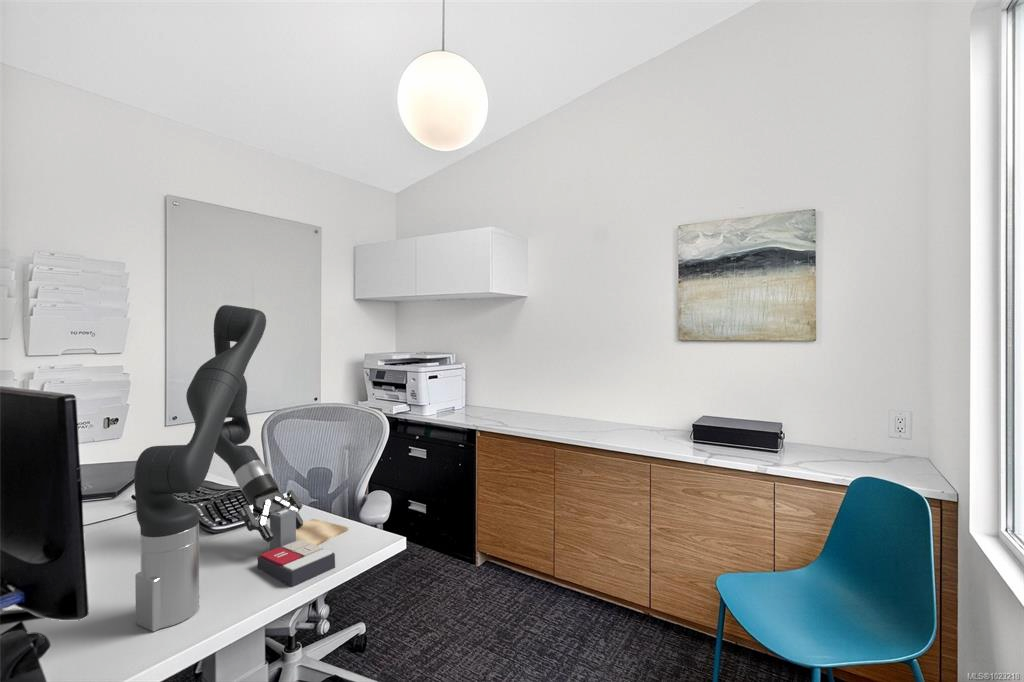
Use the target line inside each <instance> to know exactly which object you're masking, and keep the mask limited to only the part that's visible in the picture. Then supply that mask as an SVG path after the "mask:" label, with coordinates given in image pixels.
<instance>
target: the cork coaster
mask: <svg viewBox="0 0 1024 682" xmlns="http://www.w3.org/2000/svg"><path fill="white" fill-rule="evenodd" d="M348 531H349V527H348V526H345V525H340V524H337V523H332V522H328V521H324V520H320V519H315V518H312V519H309V520H307V521H305V522H304V521H303V525H302V527H301V528H299V529H296V541H298V540H303V541H305V542H308V543H310V544H314V545H316V546H319V545H321V544H323V543H326V542H327V541H329V540H331V539H333V538H335V537H337V536H340V535H341V534H343V533H345V532H348Z"/></svg>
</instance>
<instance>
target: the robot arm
mask: <svg viewBox="0 0 1024 682" xmlns="http://www.w3.org/2000/svg"><path fill="white" fill-rule="evenodd" d="M266 317H267V316H266V315H265V313H264V312H263V311H262V310H260V309H256V308H250V307H243V306H237V305H229V304H224V305H221V306H220V307H219V308H218V309H217V310H216V313H215V316H214V320H213V343H214V355H215V356H214V357H212V358H210V359H209V360H207V361H206V362H204V363H203V364H202V365H200V366H199V368H198V369H197V370H196V372H195V374H194V375H193V377H192V380H191V381H190V383H189V385H188V387H187V391H186V396H185V397H186V404H187V407H188V409H189V411H190V414H191V416H192V418H193V422H194V432H193V434H192V436H191V438H190V440H189V442H188V443H186V444H173V445H172V444H171V445H170V444H169V445H164V444H163V445H154V446H149V447H147V448H145V449H144V450H143V451H142V452H141V453H140V454H139V456H138V458H137V460H136V462H135V463H136V464H135V468H134V473H133V475H134V476H133V482H134V495H135V507H136V508H135V509H136V512H135V513H136V520H137V522H138V524H139V528H140V530H139V531H140V571H138V572H137V573H135V575H134V578H135V580H134V581H135V585H134V586H135V587H134V588H135V589H134V590H135V591H134V592H135V624H137V625H139V626H141V627H143V628H144V629H146V630H149V631H151V632H156V631H158V630H160V629H163V628H167V627H172V626H174V625H177V624H180V623H182V622H184V621H186V620H188V619H189V618H191V617H192V616H194V615H195V614H196V613H197V612H198V611H199V609H200V596H201V595H200V512H199V509H198V508H197V507H196V506H194V505H192V504H189V503H186V502H183V501H181V500H180V499H178V498H176V497H175V496H174V495H176V494H189V493H193V492H195V491H197V490H198V489H199V488H201V487H202V485H203V483H204V481H205V479H206V478H207V476H208V473H209V471H210V468H211V463H212V461H213V458H214V455H215V454H216V455H217V456H218V457H219V458H220V459H221V460H222V461H223V462H225V463H226V464H227V465H228V467H229V469H230V471H231V473H232V475H234V478H235V480H236V484H237V486H238V487H239V489H240V490H241V493H242V495H243V496H244V498H245V500H246V501H247V502H248V503H247V504H245V505H244V506H243V507H242V508H241V510H240V511H239V514H240V515H241V518H242V520H243V522H244V524H245V526H246V529H247V531H249V532H252V531H258V533H260V536H261V538H262V539H263V541H266V542H267V543H270V541H271V540H272V539H273V537H274V536H273V534H272V532H271V530H270V526H268V524H267V523H266V521H267V518H270V514H272V513H274V512H277V511H280V510H282V509H285V508H286V509H290V510H294V511H296V529H299V528H301V527H302V525H303V523H304V521H303V518H302V517H301V515H300V514H299V512H300V510H301V509H302V508H303V506H304V505H303V504H302V502H301V501H300V499H299V498H298V496H297V495H296V494H295V492H294V491H293V490H291V489H289V490H288V491H287V492H285V493H283V494H282V493H281V491H280V490H279V485H278V484H277V482H276V480H275V479H274V478H273V476H272V474H271V472H270V471H269V469H268V467H267V466H266V465H265V464H264V462H263V461H262V460H261V458H260V456H259V454H258V453H257V451H256V450H255V448H254V447H253V446H251V445H249V444H248V445H245V444H244V443H246V442H247V441H248V440H249V438H250V436H251V426H250V423H249V419H248V413H247V407H246V406H247V394H248V383H247V379H246V378H245V372H246V370H247V367H248V365H249V363H250V360H251V359H252V356H253V355H254V352H255V351H256V349H257V347H258V346H259V344H260V342H261V340H262V338H263V335H264V333H265V330H266V327H267V326H266V325H267V318H266ZM231 342H233V343H234V342H235V343H234V344H233V345H231ZM226 418H231V420H228V421H227V420H226ZM242 444H244V445H242ZM173 494H174V495H173ZM248 504H249V505H248ZM254 513H256V514H257V518H256V517H255V515H254Z"/></svg>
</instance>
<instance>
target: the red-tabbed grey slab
mask: <svg viewBox="0 0 1024 682" xmlns="http://www.w3.org/2000/svg"><path fill="white" fill-rule="evenodd" d="M335 568H336V553H335V552H332V551H331V550H328V549H324V548H322V547H321V546H319V545H317V546H316V545H314V544H310V543H308V542H305V541H303V540H298V541H295V542H292V543H290V544H287V545H284V546H282V548H280V547H279V548H276V549H273V550H271V551H270V550H268V551H266V552H263V553H261V554H260V555H259V556H257V569H258V570H259V571H261V572H263V573H265V574H266V575H268V576H271V577H273V578H275V579H277V580H279V581H280V583H282V584H284V585H285V586H287V587H290V588H294V587H296V586H299V585H300V584H302V583H305V582H307V581H309V580H312V579H314V578H316V577H318V576H320V575H323V574H325V573H327V572H329V571H331V570H334V569H335Z"/></svg>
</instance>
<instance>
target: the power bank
mask: <svg viewBox="0 0 1024 682" xmlns="http://www.w3.org/2000/svg"><path fill="white" fill-rule="evenodd" d="M284 508H285V507H284ZM284 508H282V510H280V511H277V512H274V513H272V514H270V517H269V529H270V530H271V532H272V534H273V536H274V537H273V539H272V540H271V541H269V551H271V550H273V549H276V548H279V547H280V548H282V546H284V545H287V544H290V543H292V542H295V541H296V511H294V510H290V509H286V508H285V509H284Z"/></svg>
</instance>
